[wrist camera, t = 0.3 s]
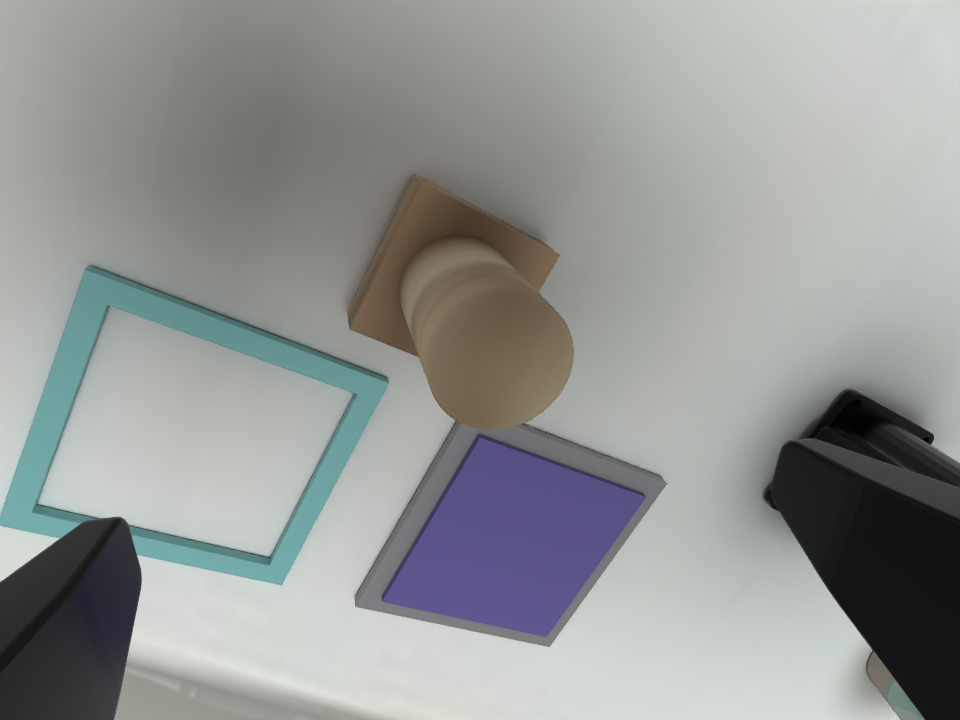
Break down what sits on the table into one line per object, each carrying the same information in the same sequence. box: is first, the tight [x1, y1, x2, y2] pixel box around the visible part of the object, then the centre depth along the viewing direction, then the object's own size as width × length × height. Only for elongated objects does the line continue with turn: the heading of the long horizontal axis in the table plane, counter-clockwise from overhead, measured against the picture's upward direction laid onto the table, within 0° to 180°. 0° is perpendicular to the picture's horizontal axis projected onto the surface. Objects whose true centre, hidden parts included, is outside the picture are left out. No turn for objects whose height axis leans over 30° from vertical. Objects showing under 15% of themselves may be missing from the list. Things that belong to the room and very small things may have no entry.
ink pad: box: [355, 421, 667, 647], centre depth 26 cm, size 10×10×1 cm
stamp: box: [347, 174, 573, 430], centre depth 18 cm, size 5×5×7 cm
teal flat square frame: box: [0, 266, 389, 585], centre depth 21 cm, size 10×10×1 cm
